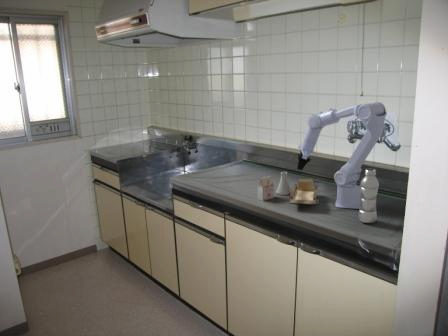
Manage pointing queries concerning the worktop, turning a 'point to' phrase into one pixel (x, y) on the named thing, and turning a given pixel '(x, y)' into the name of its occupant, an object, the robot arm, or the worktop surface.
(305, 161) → the robot arm
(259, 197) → the pink and white carton
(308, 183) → the bronze weight
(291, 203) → the beam stand
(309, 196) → the small cardboard box
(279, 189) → the flask
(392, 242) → the worktop surface
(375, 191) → the plastic bottle
